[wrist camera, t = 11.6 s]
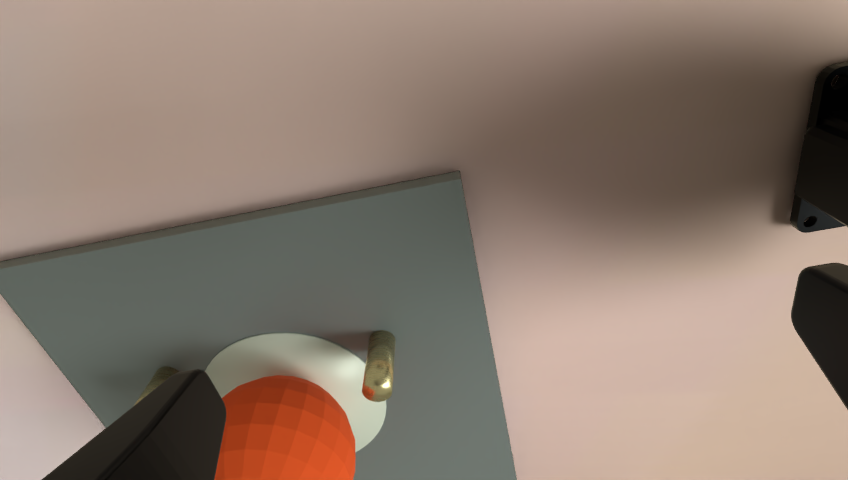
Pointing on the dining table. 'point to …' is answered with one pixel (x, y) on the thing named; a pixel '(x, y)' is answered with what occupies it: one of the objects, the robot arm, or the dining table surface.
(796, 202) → the robot arm
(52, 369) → the dining table surface
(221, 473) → the clementine
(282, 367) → the nest plate
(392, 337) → the brass pins
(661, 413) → the dining table surface
